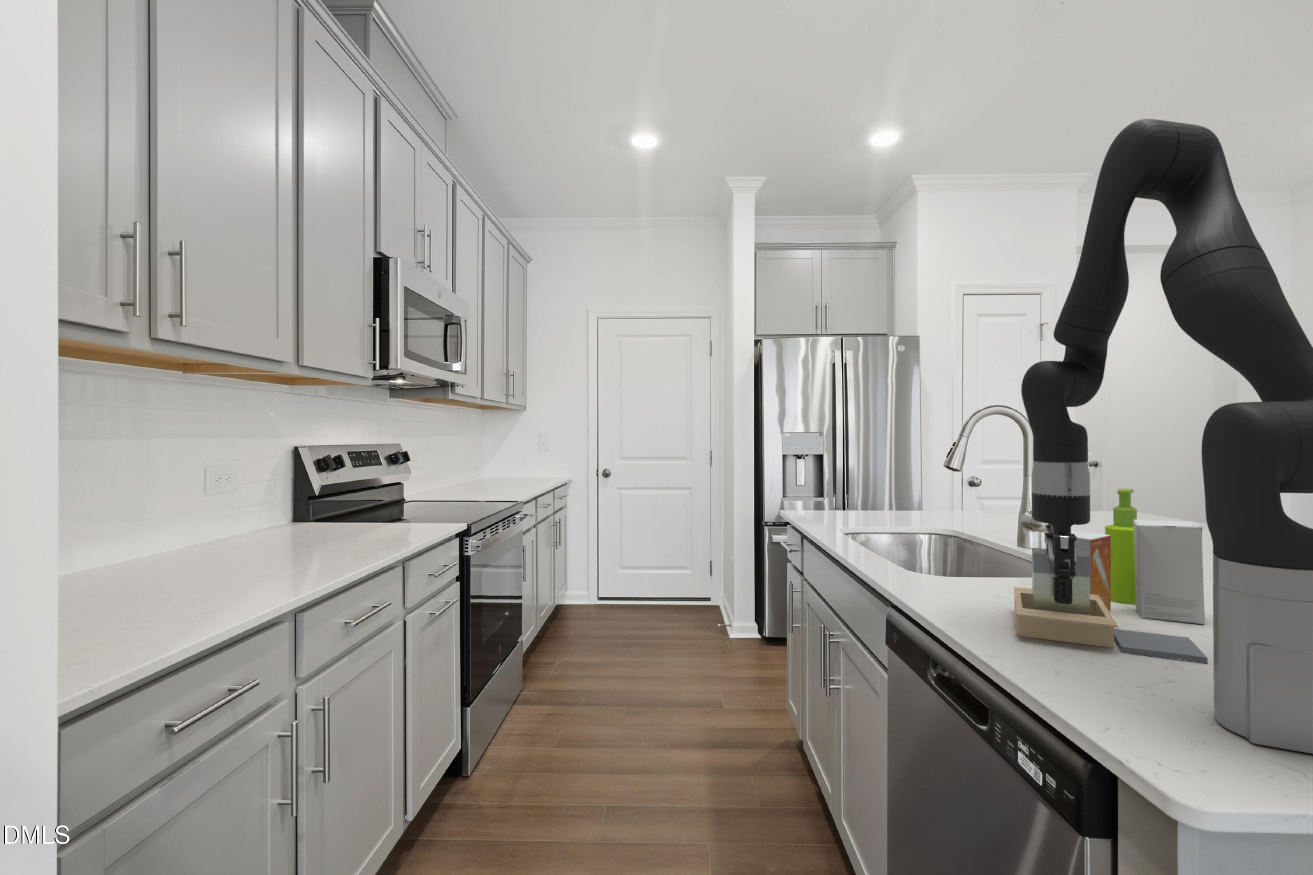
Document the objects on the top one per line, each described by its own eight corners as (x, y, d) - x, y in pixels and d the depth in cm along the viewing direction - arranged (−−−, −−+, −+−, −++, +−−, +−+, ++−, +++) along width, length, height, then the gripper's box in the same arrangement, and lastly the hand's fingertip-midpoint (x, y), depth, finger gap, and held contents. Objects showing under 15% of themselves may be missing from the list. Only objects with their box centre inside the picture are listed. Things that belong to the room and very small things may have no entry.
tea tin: (1090, 638, 90) (1089, 556, 90) (1033, 631, 93) (1033, 552, 93) (1086, 629, 94) (1085, 551, 94) (1032, 622, 97) (1031, 547, 97)
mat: (1207, 663, 79) (1207, 657, 79) (1121, 652, 84) (1121, 646, 84) (1188, 642, 87) (1188, 637, 87) (1110, 633, 92) (1110, 628, 92)
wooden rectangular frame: (1118, 654, 83) (1117, 625, 83) (1017, 641, 89) (1017, 613, 89) (1098, 619, 98) (1098, 595, 98) (1014, 610, 104) (1013, 586, 104)
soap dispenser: (1148, 598, 111) (1147, 488, 111) (1144, 606, 106) (1143, 491, 106) (1108, 592, 115) (1107, 487, 115) (1103, 600, 110) (1102, 489, 110)
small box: (1091, 619, 99) (1090, 539, 99) (1048, 610, 104) (1048, 534, 104) (1112, 610, 103) (1111, 534, 103) (1070, 602, 109) (1070, 529, 109)
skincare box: (1197, 615, 100) (1196, 521, 100) (1206, 626, 95) (1205, 526, 95) (1133, 608, 105) (1132, 517, 105) (1138, 618, 99) (1137, 522, 99)
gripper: (1096, 496, 86) (1096, 611, 86) (1084, 488, 98) (1084, 588, 98) (1033, 494, 89) (1034, 604, 89) (1029, 486, 102) (1030, 583, 102)
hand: (1060, 596), depth 94 cm, fingers open, 8 cm apart
